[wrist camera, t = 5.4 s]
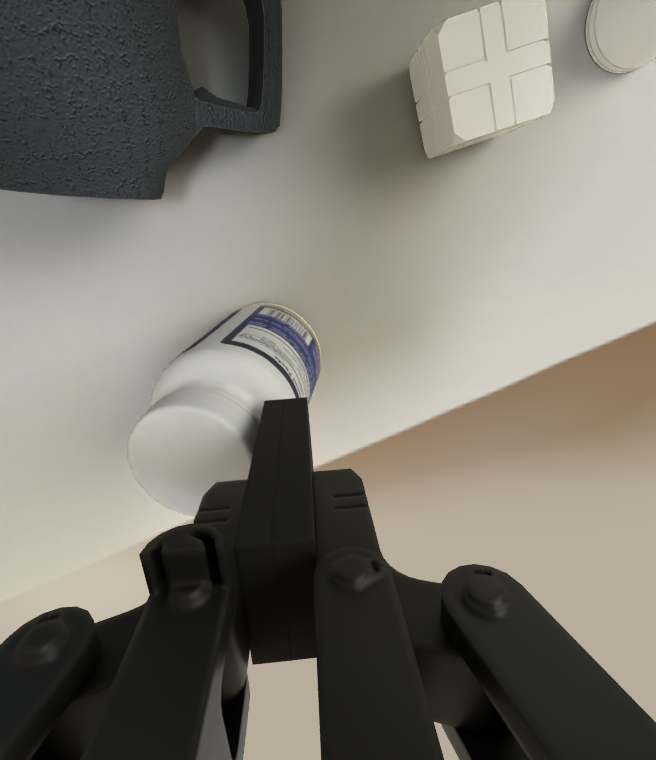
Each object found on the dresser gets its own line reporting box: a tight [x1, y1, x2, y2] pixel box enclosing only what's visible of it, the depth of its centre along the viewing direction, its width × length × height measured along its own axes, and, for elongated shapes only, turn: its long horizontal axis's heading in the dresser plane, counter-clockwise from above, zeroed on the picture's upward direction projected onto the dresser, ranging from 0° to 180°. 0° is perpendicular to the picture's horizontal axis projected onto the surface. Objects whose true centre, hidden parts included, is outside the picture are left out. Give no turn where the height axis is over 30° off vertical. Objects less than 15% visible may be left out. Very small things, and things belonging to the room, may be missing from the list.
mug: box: [0, 0, 282, 200], centre depth 14 cm, size 12×9×11 cm
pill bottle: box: [127, 303, 321, 517], centre depth 17 cm, size 5×5×10 cm
